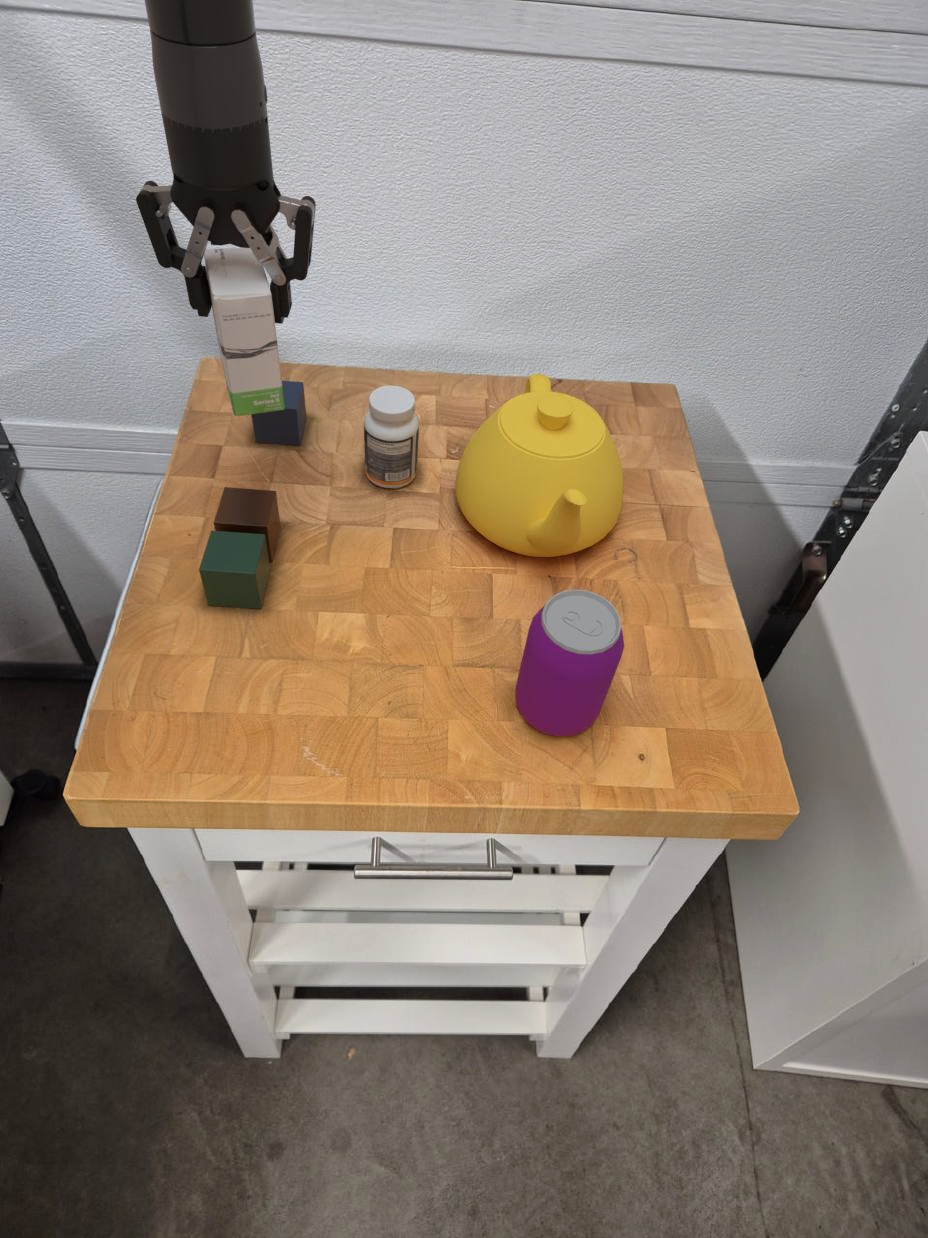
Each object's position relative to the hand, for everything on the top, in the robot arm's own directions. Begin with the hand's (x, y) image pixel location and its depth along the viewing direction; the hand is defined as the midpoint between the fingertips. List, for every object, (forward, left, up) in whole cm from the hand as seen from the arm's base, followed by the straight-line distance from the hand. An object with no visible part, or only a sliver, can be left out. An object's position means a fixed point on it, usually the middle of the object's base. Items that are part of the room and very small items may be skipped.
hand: (243, 314), depth 72 cm
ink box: (0, 0, -8) cm, 8 cm away
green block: (0, -15, -20) cm, 25 cm away
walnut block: (0, -9, -20) cm, 22 cm away
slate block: (0, +9, -20) cm, 22 cm away
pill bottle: (+13, +3, -20) cm, 24 cm away
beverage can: (+30, -26, -20) cm, 44 cm away
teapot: (+29, -2, -20) cm, 35 cm away
